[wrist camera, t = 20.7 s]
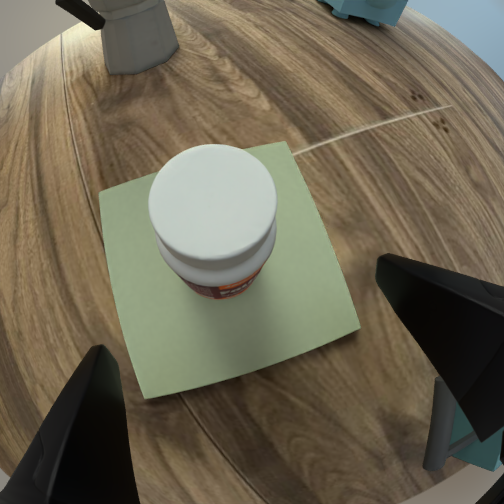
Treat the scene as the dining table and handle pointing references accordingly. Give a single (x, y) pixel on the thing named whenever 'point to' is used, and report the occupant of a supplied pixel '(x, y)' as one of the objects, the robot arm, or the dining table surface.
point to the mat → (230, 310)
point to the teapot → (369, 10)
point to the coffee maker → (128, 31)
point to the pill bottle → (214, 218)
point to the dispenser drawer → (457, 435)
